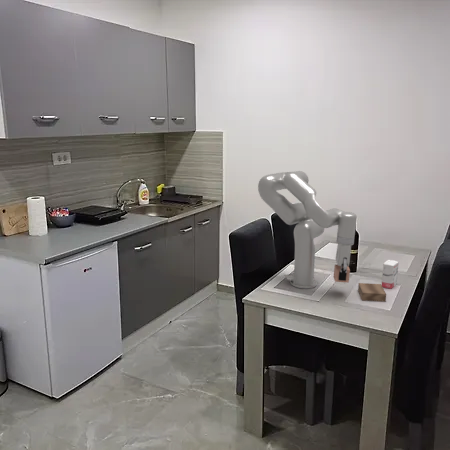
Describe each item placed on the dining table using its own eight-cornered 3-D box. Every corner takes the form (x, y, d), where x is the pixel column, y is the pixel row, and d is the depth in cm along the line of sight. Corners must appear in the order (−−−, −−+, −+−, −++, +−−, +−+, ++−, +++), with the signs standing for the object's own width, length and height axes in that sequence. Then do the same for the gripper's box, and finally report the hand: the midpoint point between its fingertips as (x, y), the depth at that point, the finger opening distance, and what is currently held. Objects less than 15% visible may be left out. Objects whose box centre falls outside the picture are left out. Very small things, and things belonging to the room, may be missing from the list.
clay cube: (334, 281, 200) (336, 269, 198) (333, 276, 205) (334, 264, 204) (348, 282, 199) (350, 270, 197) (346, 277, 205) (348, 265, 203)
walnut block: (362, 301, 197) (362, 292, 196) (358, 291, 208) (358, 283, 207) (385, 302, 195) (386, 294, 194) (380, 292, 207) (380, 284, 206)
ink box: (391, 289, 209) (393, 265, 206) (380, 287, 212) (382, 263, 209) (397, 284, 216) (399, 261, 213) (386, 281, 219) (389, 259, 216)
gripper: (334, 233, 206) (330, 270, 211) (339, 245, 189) (335, 284, 194) (350, 235, 205) (346, 271, 210) (357, 246, 189) (352, 285, 193)
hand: (341, 277), depth 202 cm, fingers closed on clay cube, 6 cm apart
